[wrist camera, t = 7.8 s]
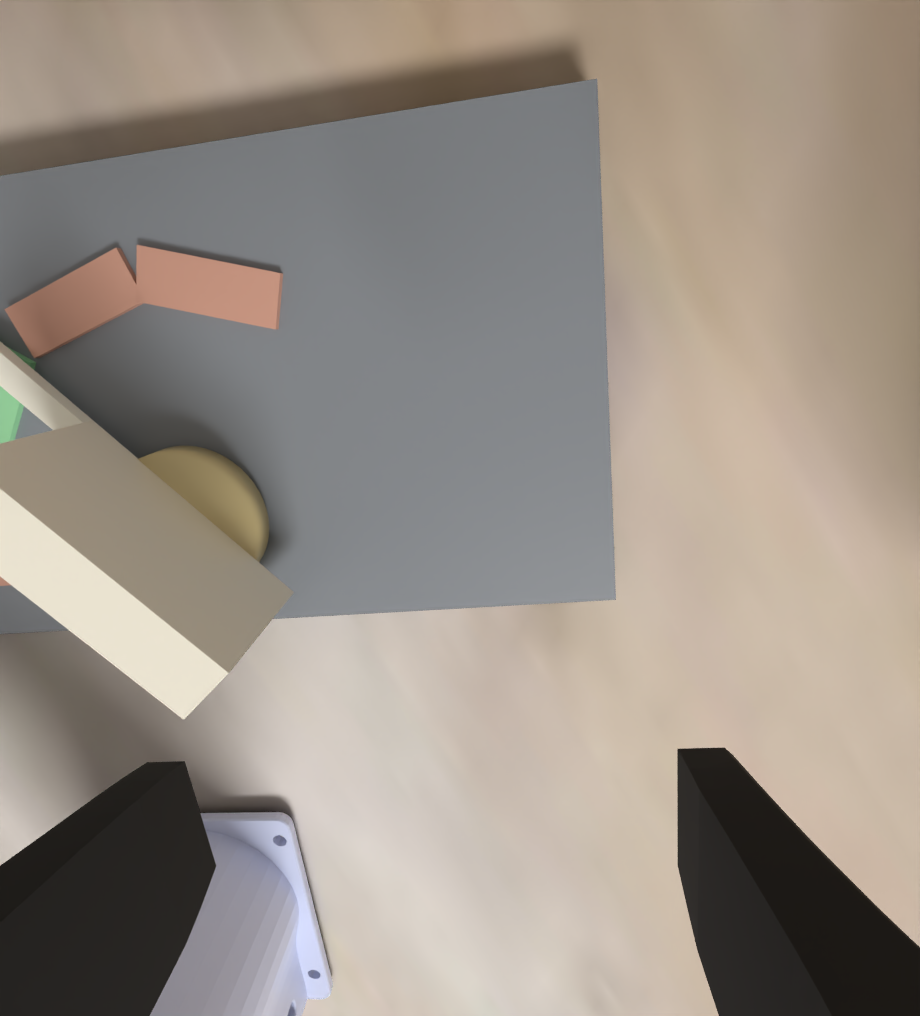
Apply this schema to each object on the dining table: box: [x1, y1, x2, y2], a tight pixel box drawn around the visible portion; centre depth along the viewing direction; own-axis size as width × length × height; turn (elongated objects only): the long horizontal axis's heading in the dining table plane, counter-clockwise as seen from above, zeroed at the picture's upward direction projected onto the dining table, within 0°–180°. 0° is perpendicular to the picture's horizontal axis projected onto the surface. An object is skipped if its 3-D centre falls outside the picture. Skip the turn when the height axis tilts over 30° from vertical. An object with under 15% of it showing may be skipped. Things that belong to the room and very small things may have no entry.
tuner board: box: [0, 79, 616, 634], centre depth 17 cm, size 13×24×1 cm, turn 96°
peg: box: [0, 342, 294, 720], centre depth 15 cm, size 12×4×5 cm, turn 47°
